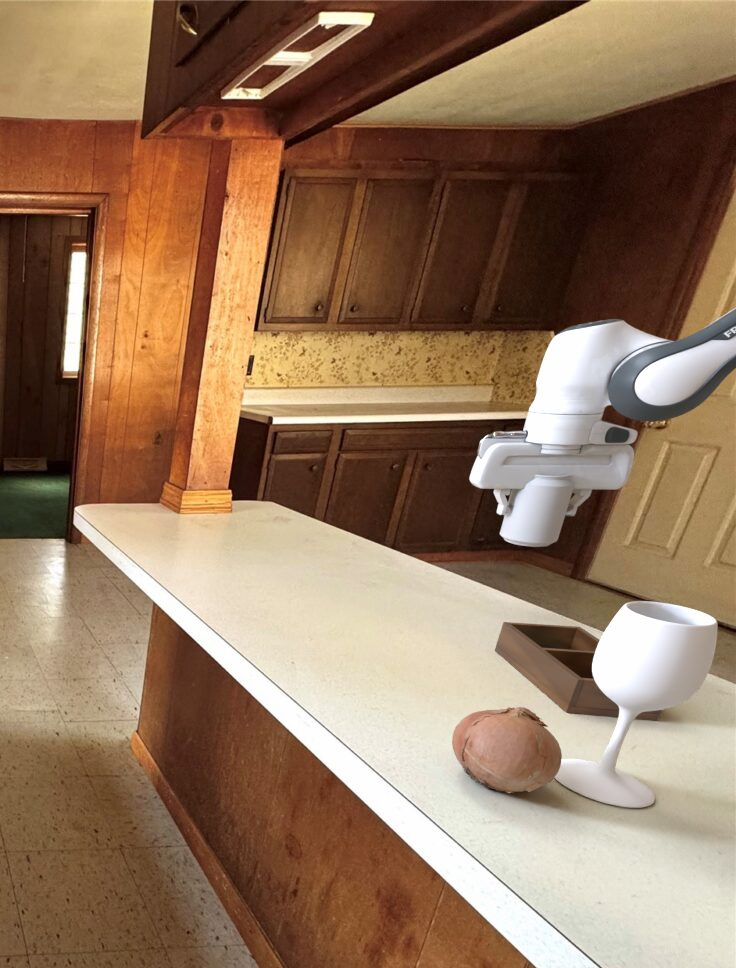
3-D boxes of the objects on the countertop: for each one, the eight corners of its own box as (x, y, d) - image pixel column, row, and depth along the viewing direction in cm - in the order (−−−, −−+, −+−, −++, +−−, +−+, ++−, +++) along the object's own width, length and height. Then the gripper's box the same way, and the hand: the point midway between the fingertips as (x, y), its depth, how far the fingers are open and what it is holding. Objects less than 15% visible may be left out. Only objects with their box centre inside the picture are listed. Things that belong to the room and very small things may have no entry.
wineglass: (617, 816, 70) (695, 636, 62) (529, 768, 77) (588, 603, 70) (675, 799, 72) (757, 623, 64) (583, 754, 79) (646, 592, 72)
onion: (491, 787, 79) (529, 711, 78) (562, 821, 70) (606, 736, 69) (417, 759, 79) (454, 683, 78) (477, 789, 70) (520, 703, 69)
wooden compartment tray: (569, 655, 103) (579, 626, 101) (657, 720, 85) (672, 687, 84) (494, 650, 105) (503, 621, 103) (566, 712, 88) (578, 679, 86)
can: (487, 536, 116) (505, 468, 111) (532, 534, 115) (552, 466, 111) (520, 549, 109) (541, 476, 105) (568, 547, 108) (591, 474, 104)
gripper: (492, 434, 105) (470, 518, 110) (651, 432, 100) (621, 520, 105) (473, 428, 111) (454, 509, 116) (623, 426, 105) (596, 511, 111)
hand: (534, 514), depth 110 cm, fingers closed on can, 7 cm apart
